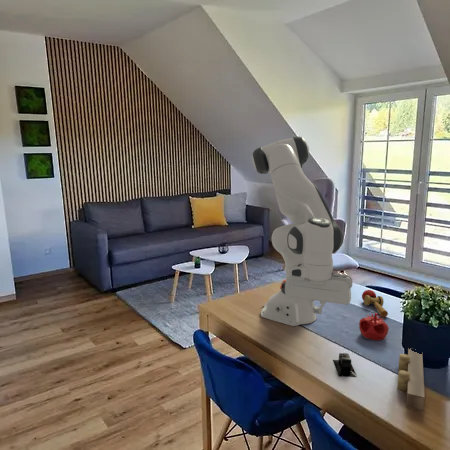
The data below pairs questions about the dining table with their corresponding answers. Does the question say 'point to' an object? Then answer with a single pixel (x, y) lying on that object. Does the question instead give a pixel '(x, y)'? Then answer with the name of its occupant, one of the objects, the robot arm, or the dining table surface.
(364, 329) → the pomegranate
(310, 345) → the dining table surface
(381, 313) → the kendama
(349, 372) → the black boxy piece
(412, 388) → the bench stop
